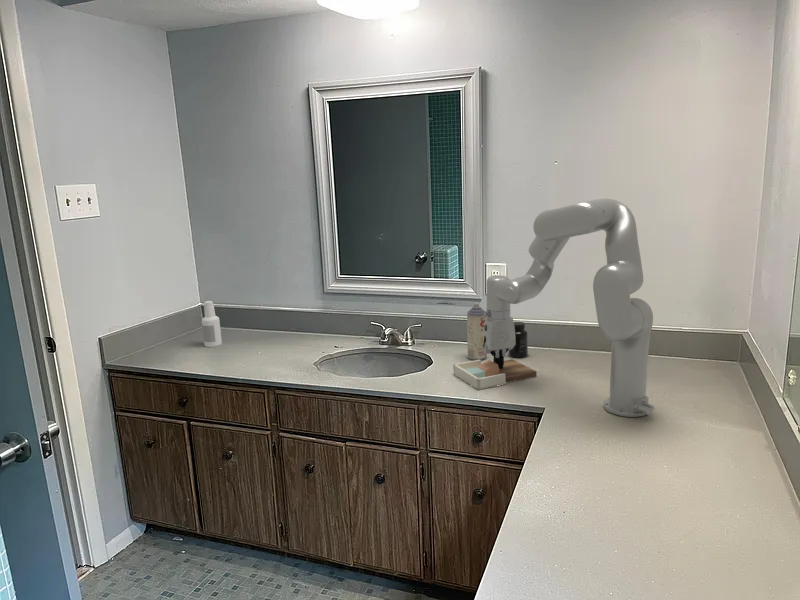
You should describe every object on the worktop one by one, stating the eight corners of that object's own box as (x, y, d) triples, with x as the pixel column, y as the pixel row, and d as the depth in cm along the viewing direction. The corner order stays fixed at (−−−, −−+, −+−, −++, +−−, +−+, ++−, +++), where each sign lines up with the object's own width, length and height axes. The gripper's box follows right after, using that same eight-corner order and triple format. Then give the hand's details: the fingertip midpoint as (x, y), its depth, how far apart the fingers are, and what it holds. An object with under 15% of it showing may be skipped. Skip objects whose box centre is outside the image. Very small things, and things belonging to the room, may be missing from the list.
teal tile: (485, 380, 197) (485, 371, 197) (472, 383, 195) (472, 374, 195) (477, 375, 202) (477, 366, 201) (464, 378, 200) (464, 369, 199)
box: (505, 384, 194) (505, 374, 193) (478, 390, 190) (477, 379, 190) (479, 369, 209) (479, 359, 208) (453, 374, 205) (453, 364, 204)
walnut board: (536, 376, 200) (536, 371, 199) (505, 383, 195) (505, 377, 195) (512, 364, 212) (512, 359, 212) (482, 370, 208) (482, 364, 207)
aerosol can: (483, 361, 216) (483, 306, 212) (465, 359, 219) (464, 305, 214) (489, 355, 222) (488, 302, 218) (470, 353, 225) (470, 300, 220)
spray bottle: (204, 343, 251) (199, 300, 247) (221, 341, 253) (217, 299, 249) (204, 348, 245) (199, 304, 241) (222, 346, 247) (217, 302, 243)
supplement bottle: (526, 352, 224) (527, 320, 221) (528, 358, 218) (529, 325, 215) (507, 352, 225) (507, 320, 222) (509, 358, 218) (509, 326, 216)
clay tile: (499, 372, 199) (497, 364, 198) (487, 378, 198) (485, 370, 197) (491, 367, 204) (489, 359, 203) (479, 374, 202) (476, 366, 201)
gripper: (484, 319, 191) (484, 375, 196) (524, 313, 197) (524, 367, 201) (472, 314, 198) (473, 368, 202) (511, 308, 204) (511, 361, 208)
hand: (498, 367), depth 202 cm, fingers closed
